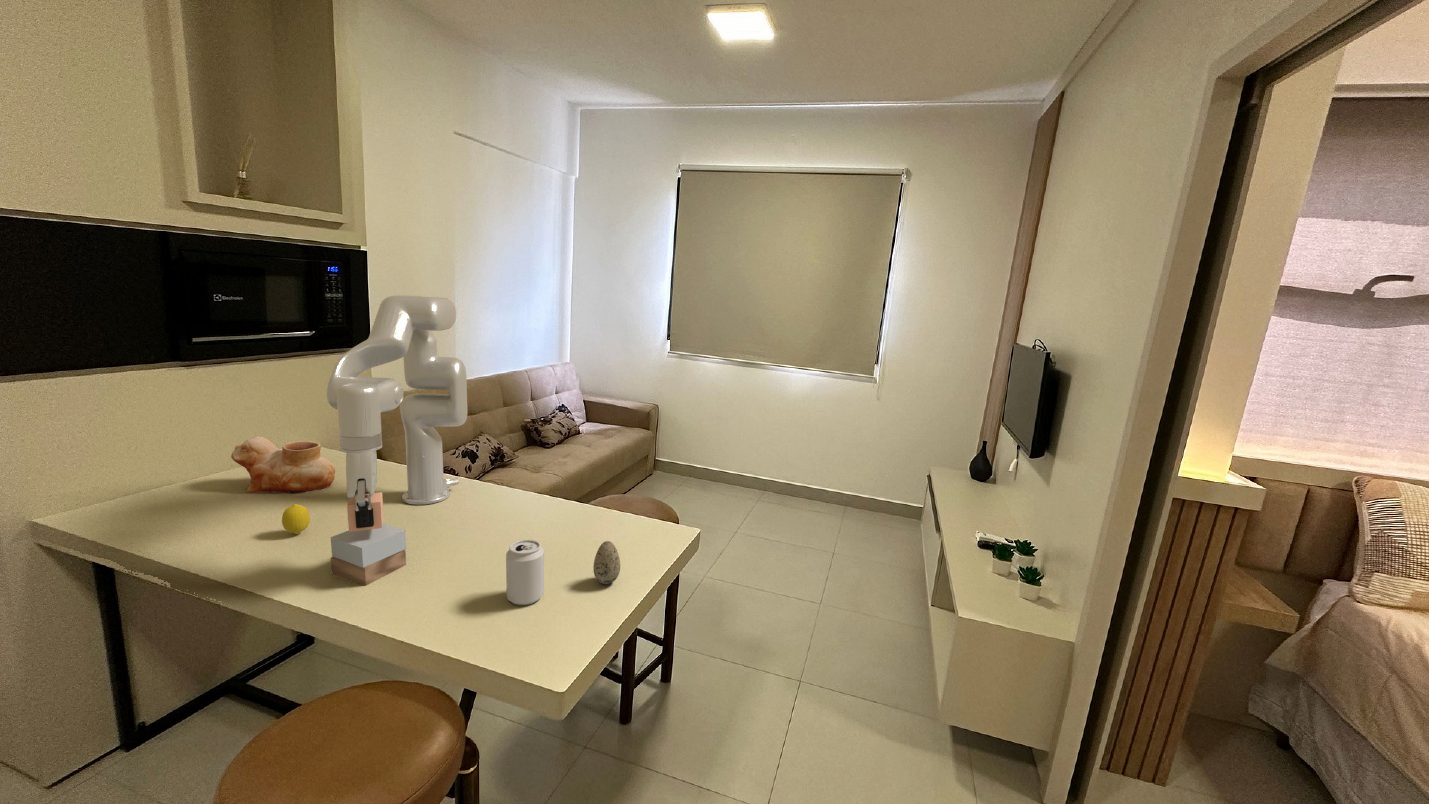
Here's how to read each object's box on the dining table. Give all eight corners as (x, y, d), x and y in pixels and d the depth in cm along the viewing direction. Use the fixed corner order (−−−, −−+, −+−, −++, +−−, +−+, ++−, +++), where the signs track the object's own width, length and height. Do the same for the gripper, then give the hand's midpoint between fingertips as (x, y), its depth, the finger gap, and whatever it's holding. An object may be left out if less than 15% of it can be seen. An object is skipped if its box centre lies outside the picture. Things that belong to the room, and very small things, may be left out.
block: (352, 520, 121) (350, 495, 120) (383, 517, 124) (382, 492, 123) (348, 531, 116) (347, 505, 115) (381, 527, 118) (380, 501, 117)
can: (512, 587, 119) (511, 536, 117) (547, 588, 120) (547, 537, 117) (502, 607, 112) (501, 553, 109) (539, 607, 112) (539, 553, 110)
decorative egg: (621, 588, 122) (622, 546, 120) (594, 590, 120) (595, 548, 118) (618, 574, 127) (619, 534, 125) (592, 577, 125) (593, 536, 123)
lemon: (296, 540, 133) (293, 509, 132) (277, 537, 134) (274, 506, 133) (316, 531, 138) (314, 501, 137) (298, 528, 139) (295, 498, 138)
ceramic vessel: (255, 477, 171) (250, 431, 168) (345, 479, 174) (342, 433, 171) (222, 493, 157) (215, 443, 154) (320, 495, 161) (316, 446, 158)
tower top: (375, 538, 128) (374, 520, 127) (405, 548, 124) (405, 530, 123) (332, 556, 119) (330, 537, 118) (363, 567, 115) (361, 548, 114)
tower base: (373, 556, 129) (372, 539, 128) (406, 566, 126) (405, 548, 125) (332, 576, 119) (330, 557, 118) (366, 587, 116) (364, 567, 115)
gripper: (345, 432, 122) (350, 508, 125) (334, 454, 107) (340, 539, 110) (384, 430, 125) (388, 504, 129) (379, 451, 110) (384, 534, 114)
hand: (366, 520), depth 119 cm, fingers closed on block, 6 cm apart
